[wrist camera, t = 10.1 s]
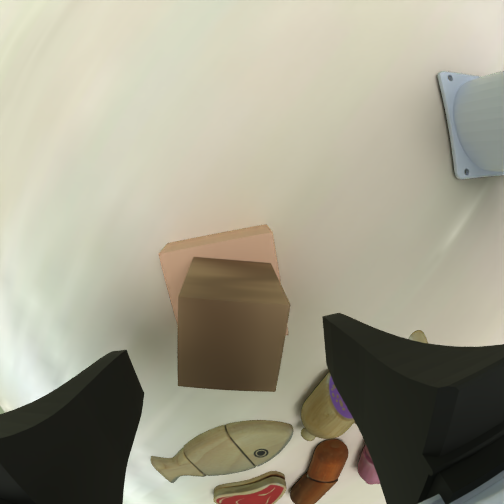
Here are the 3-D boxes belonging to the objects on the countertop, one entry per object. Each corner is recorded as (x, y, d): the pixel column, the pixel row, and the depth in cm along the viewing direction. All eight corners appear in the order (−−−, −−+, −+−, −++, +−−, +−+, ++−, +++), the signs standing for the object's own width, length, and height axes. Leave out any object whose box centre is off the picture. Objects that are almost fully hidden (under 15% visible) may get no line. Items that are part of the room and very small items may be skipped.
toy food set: (408, 302, 22) (437, 324, 18) (450, 411, 25) (469, 434, 22) (146, 452, 23) (138, 485, 20) (248, 519, 27) (250, 545, 23)
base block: (265, 223, 19) (272, 231, 16) (280, 313, 21) (288, 334, 18) (168, 242, 19) (158, 253, 16) (191, 329, 21) (186, 352, 18)
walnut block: (270, 262, 17) (290, 304, 11) (261, 331, 18) (275, 391, 12) (193, 256, 16) (178, 296, 11) (190, 325, 17) (178, 385, 12)
